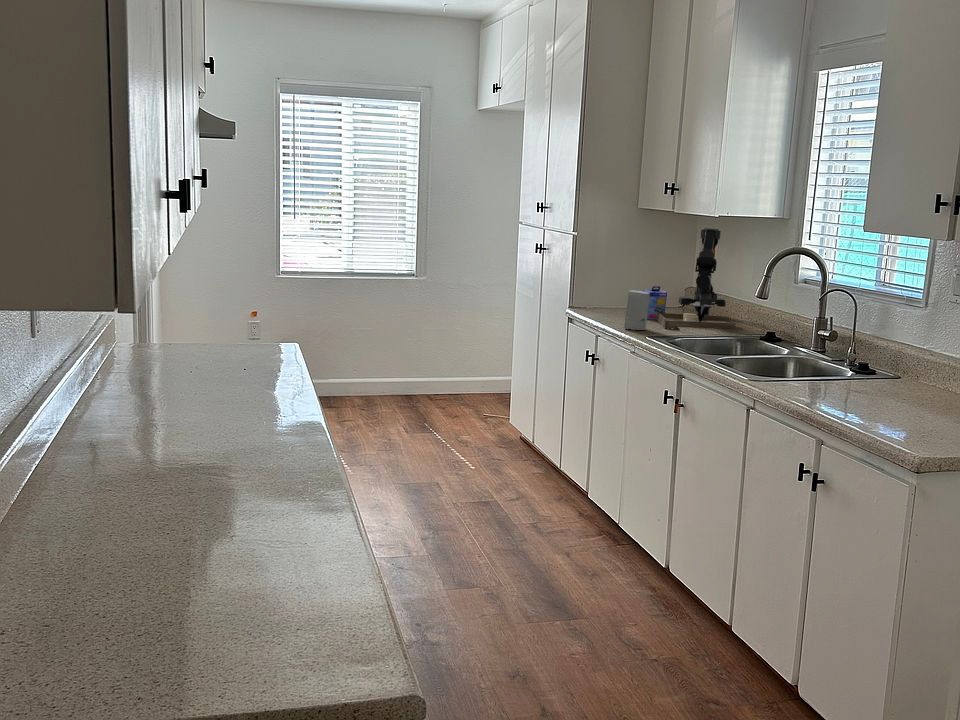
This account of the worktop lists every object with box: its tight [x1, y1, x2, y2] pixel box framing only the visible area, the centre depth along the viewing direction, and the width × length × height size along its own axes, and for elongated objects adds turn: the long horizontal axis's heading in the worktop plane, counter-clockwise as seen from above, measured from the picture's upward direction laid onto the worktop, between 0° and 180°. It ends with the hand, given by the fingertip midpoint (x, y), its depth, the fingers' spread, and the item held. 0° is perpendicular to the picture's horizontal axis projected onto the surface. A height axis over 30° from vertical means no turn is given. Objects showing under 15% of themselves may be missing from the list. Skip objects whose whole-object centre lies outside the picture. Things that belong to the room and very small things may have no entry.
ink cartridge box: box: [642, 285, 668, 320], centre depth 410 cm, size 10×6×14 cm, turn 101°
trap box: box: [656, 312, 736, 330], centre depth 397 cm, size 18×29×4 cm, turn 90°
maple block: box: [683, 312, 699, 322], centre depth 396 cm, size 5×5×4 cm
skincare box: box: [623, 289, 650, 331], centre depth 383 cm, size 8×7×16 cm
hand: (700, 321), depth 397 cm, fingers closed
